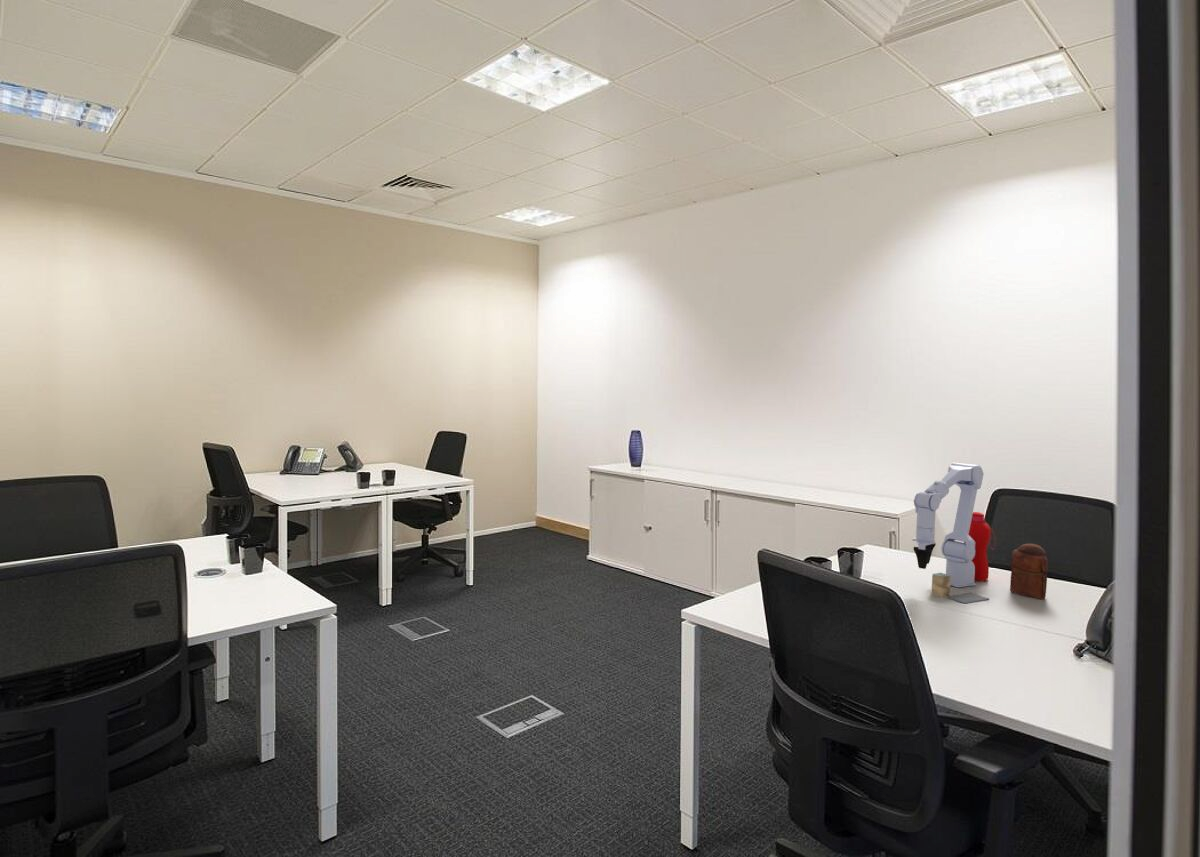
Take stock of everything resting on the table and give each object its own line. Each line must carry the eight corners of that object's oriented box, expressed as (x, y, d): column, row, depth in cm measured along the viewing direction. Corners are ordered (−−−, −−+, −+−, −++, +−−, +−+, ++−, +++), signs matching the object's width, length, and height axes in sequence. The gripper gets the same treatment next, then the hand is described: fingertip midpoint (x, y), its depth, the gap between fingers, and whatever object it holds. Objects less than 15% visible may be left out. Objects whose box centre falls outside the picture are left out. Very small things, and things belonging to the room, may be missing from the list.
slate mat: (970, 593, 236) (970, 592, 236) (989, 599, 229) (989, 598, 229) (945, 597, 231) (945, 596, 231) (963, 603, 225) (963, 602, 225)
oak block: (939, 592, 237) (940, 572, 236) (949, 595, 233) (950, 575, 233) (931, 593, 235) (932, 573, 235) (941, 596, 232) (942, 576, 231)
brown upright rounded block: (1050, 597, 233) (1054, 545, 231) (1044, 601, 229) (1047, 548, 227) (1013, 588, 242) (1016, 539, 241) (1005, 592, 238) (1008, 541, 237)
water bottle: (993, 584, 247) (997, 516, 245) (959, 579, 253) (962, 513, 251) (993, 578, 255) (997, 512, 253) (961, 573, 260) (964, 509, 259)
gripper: (916, 521, 242) (914, 559, 243) (909, 529, 230) (907, 568, 231) (938, 524, 238) (936, 562, 239) (932, 532, 226) (930, 572, 227)
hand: (923, 565), depth 234 cm, fingers open, 7 cm apart
